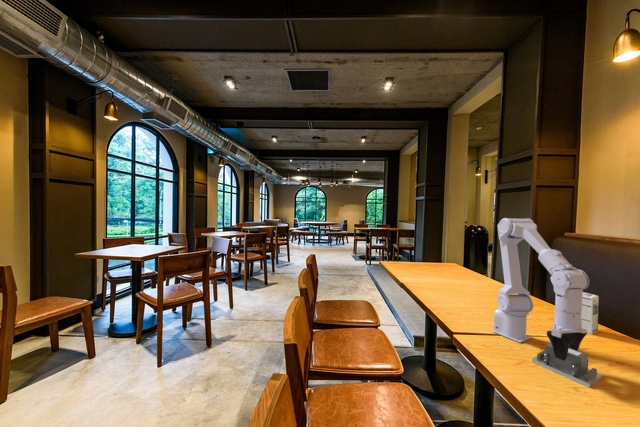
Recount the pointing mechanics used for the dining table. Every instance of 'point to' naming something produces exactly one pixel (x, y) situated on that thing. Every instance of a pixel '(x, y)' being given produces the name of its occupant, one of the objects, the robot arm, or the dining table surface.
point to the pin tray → (585, 379)
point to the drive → (569, 360)
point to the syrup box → (590, 312)
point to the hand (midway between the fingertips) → (565, 355)
